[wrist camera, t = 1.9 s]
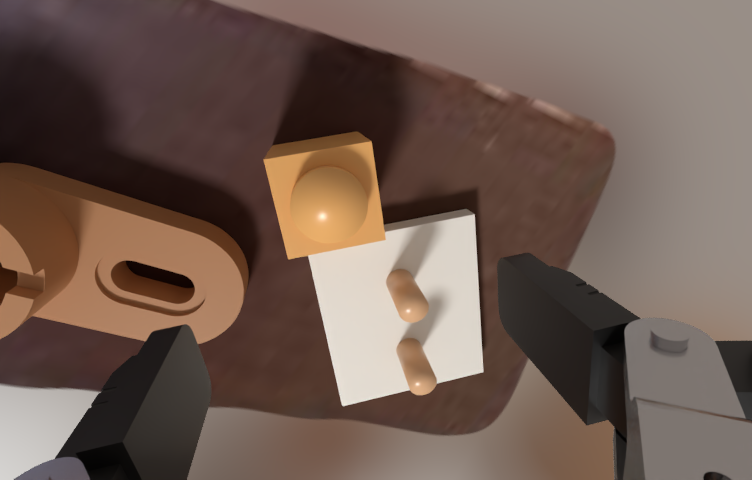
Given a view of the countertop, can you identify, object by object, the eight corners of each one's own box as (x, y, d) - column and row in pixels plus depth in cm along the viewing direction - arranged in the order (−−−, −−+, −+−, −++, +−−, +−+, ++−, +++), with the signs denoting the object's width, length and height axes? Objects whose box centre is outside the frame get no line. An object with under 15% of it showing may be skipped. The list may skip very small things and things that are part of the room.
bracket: (-59, 266, 25) (-185, 325, 19) (-44, 140, 23) (-180, 158, 16) (229, 336, 30) (209, 401, 24) (264, 238, 28) (252, 281, 22)
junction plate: (340, 393, 33) (347, 447, 28) (306, 239, 28) (306, 271, 23) (476, 361, 35) (505, 407, 30) (466, 208, 29) (500, 232, 24)
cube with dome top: (291, 226, 28) (287, 266, 21) (272, 145, 26) (261, 162, 19) (369, 211, 28) (389, 246, 22) (357, 131, 26) (374, 143, 20)
